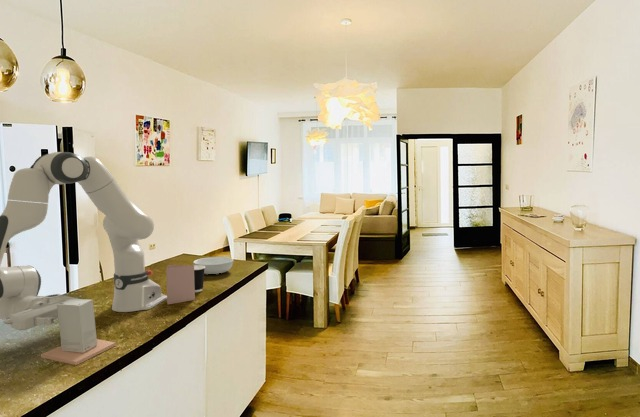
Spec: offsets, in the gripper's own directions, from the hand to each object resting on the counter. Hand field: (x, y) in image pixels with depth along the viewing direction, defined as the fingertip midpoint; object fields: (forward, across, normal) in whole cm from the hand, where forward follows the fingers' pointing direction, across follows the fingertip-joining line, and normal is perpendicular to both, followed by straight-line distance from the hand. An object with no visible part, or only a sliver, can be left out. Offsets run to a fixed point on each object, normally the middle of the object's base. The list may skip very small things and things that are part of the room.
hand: (66, 316), depth 128 cm
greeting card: (+2, +50, +11) cm, 51 cm away
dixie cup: (-1, +66, +11) cm, 67 cm away
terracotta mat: (+5, 0, +10) cm, 12 cm away
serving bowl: (-13, +97, +11) cm, 98 cm away
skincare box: (+5, 0, +10) cm, 11 cm away
